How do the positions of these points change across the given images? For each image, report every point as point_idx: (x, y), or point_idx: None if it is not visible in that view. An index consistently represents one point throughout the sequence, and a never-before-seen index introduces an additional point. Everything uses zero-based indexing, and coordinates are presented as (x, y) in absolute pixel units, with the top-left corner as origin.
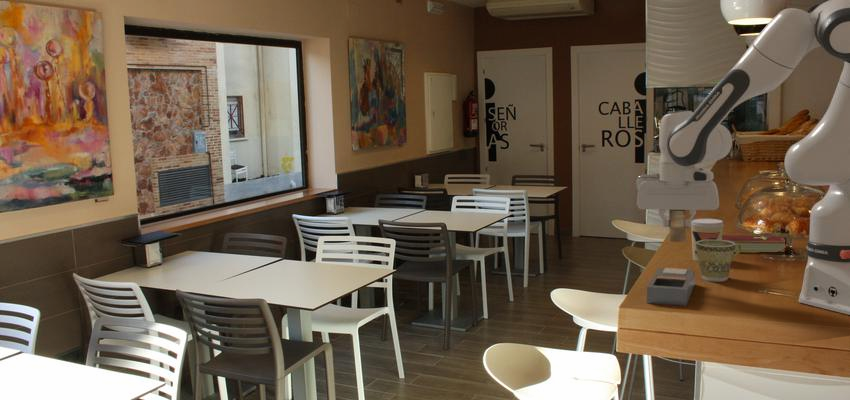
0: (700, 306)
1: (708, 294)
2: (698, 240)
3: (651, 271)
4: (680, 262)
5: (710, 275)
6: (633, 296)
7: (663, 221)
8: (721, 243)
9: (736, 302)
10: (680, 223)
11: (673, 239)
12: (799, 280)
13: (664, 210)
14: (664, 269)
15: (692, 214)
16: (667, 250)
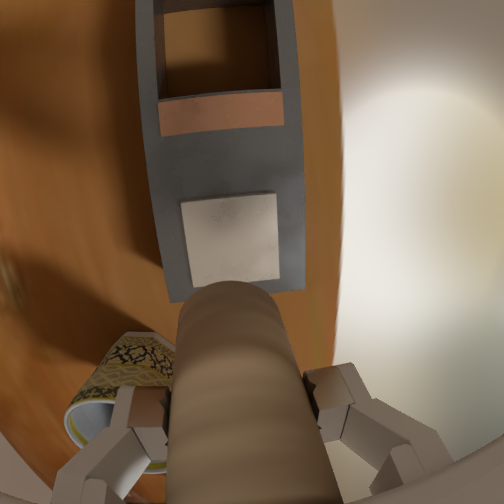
0: (106, 12)
1: (105, 166)
2: None
3: None
4: None
5: (143, 339)
6: (336, 45)
7: (365, 390)
8: None
9: (23, 113)
10: (196, 386)
11: (248, 291)
12: (7, 382)
13: (396, 481)
14: (278, 251)
15: (80, 473)
16: None
